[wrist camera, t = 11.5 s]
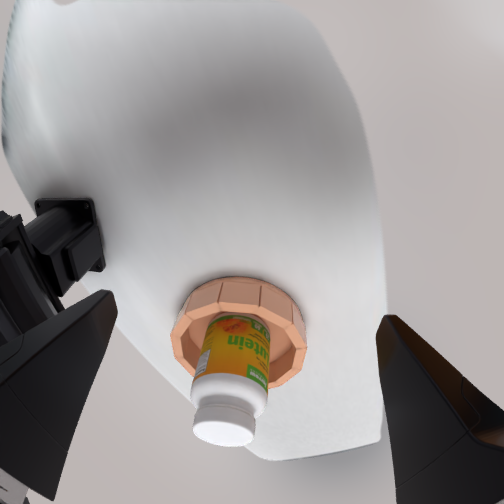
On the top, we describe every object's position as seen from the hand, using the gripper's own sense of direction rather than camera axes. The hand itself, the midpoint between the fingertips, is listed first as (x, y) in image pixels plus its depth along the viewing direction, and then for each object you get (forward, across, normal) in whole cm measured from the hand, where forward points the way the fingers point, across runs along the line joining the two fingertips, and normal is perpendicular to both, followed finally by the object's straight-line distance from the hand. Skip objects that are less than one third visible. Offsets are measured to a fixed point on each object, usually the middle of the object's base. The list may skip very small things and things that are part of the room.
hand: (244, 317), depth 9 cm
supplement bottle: (+11, +1, +12) cm, 17 cm away
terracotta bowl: (+12, +1, +12) cm, 17 cm away
